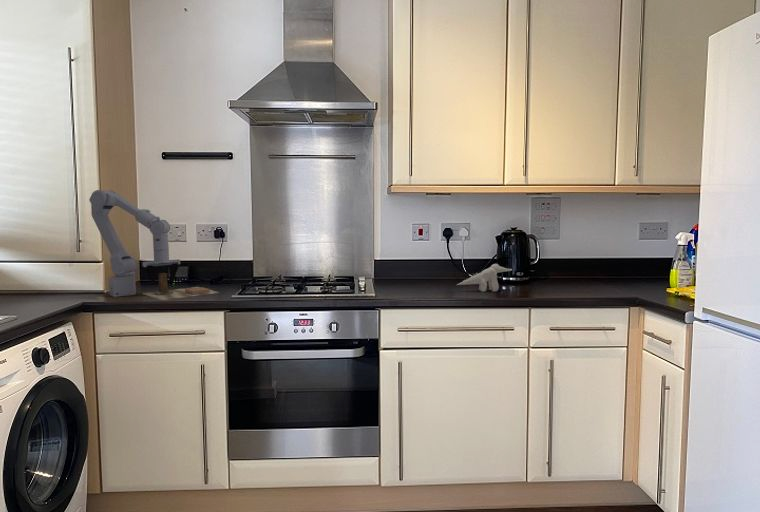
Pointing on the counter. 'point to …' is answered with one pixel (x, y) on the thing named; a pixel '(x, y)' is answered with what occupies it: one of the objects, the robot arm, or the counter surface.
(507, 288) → the counter surface
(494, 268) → the dinosaur statue
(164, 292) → the wooden post on base
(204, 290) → the tile
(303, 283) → the counter surface
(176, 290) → the board
